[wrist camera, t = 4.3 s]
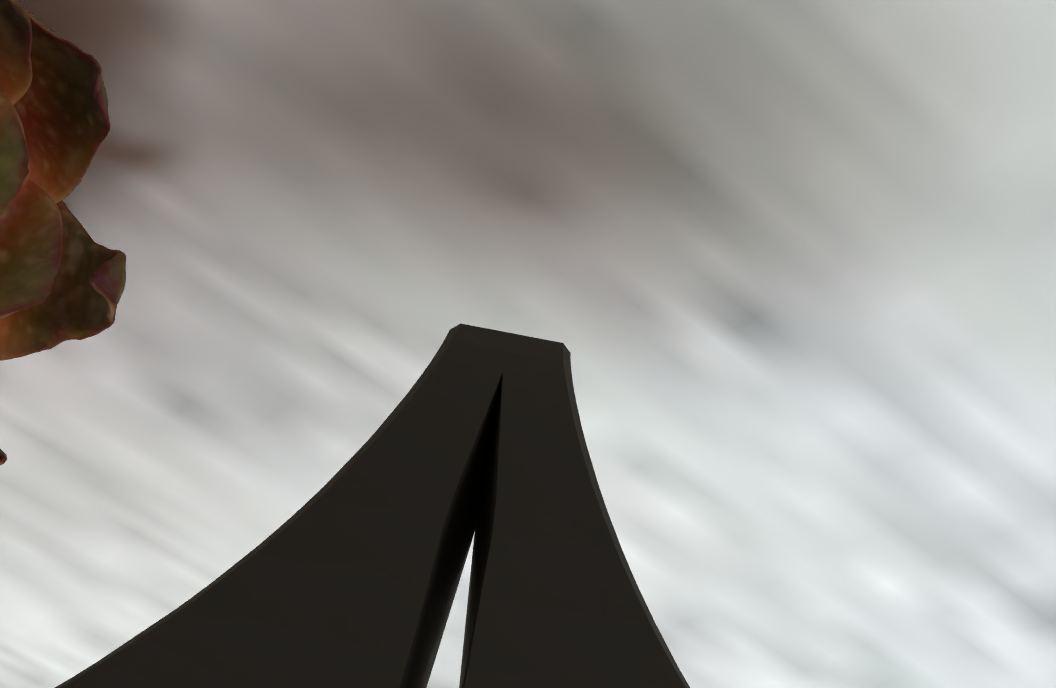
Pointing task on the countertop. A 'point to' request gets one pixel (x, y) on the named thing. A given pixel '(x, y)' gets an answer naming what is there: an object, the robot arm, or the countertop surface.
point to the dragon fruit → (49, 191)
